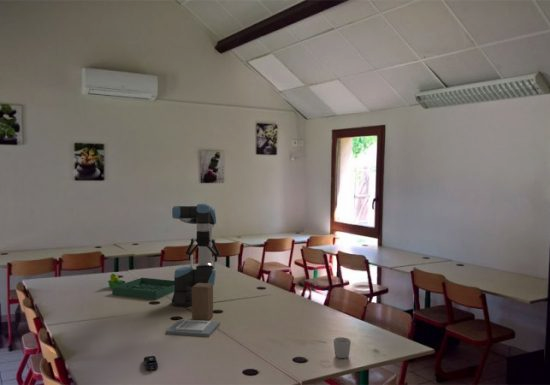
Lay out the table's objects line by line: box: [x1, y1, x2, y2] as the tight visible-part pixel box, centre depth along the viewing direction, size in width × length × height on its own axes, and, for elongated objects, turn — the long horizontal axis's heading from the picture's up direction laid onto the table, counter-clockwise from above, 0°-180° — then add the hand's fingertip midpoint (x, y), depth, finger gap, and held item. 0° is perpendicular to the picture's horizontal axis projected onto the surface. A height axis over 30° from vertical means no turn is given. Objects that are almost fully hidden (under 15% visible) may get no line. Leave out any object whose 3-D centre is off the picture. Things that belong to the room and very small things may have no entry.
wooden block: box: [191, 283, 214, 321], centre depth 289 cm, size 10×10×20 cm
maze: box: [111, 277, 174, 300], centre depth 351 cm, size 35×35×6 cm
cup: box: [333, 336, 352, 359], centre depth 234 cm, size 11×8×8 cm
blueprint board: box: [165, 319, 221, 337], centre depth 271 cm, size 24×20×2 cm
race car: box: [143, 355, 159, 371], centre depth 221 cm, size 15×7×4 cm, turn 27°
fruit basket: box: [107, 273, 126, 289], centre depth 359 cm, size 11×9×11 cm
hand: (203, 266), depth 288 cm, fingers open, 13 cm apart
